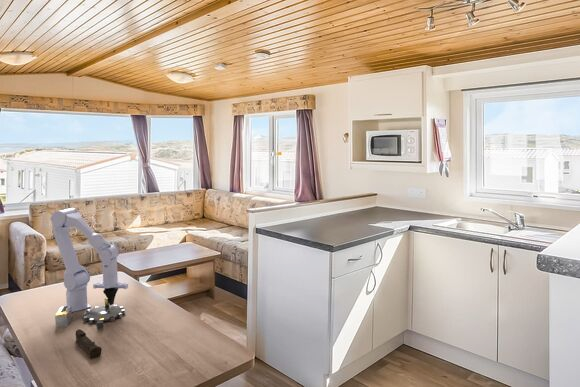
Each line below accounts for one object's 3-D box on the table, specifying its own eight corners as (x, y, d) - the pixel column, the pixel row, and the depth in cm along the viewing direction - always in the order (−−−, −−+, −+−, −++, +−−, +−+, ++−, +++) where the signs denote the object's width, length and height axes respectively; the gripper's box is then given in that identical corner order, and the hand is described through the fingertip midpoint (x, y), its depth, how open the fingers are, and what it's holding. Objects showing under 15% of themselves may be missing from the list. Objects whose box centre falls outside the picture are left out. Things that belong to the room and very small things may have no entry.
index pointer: (98, 326, 162) (97, 320, 162) (103, 325, 163) (103, 319, 163) (97, 329, 159) (96, 323, 159) (102, 328, 160) (102, 322, 160)
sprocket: (73, 321, 166) (72, 308, 165) (100, 306, 182) (99, 294, 181) (108, 325, 162) (107, 312, 162) (132, 309, 178) (132, 298, 177)
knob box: (61, 318, 170) (60, 305, 169) (72, 317, 171) (71, 304, 170) (55, 328, 160) (55, 315, 159) (67, 327, 161) (66, 314, 161)
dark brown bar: (102, 357, 140) (101, 344, 139) (89, 360, 137) (89, 347, 136) (85, 337, 153) (84, 325, 153) (73, 340, 151) (73, 328, 150)
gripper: (88, 276, 172) (90, 307, 174) (122, 277, 172) (123, 308, 173) (97, 271, 179) (98, 301, 181) (129, 272, 179) (131, 301, 180)
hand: (111, 304), depth 177 cm, fingers closed
